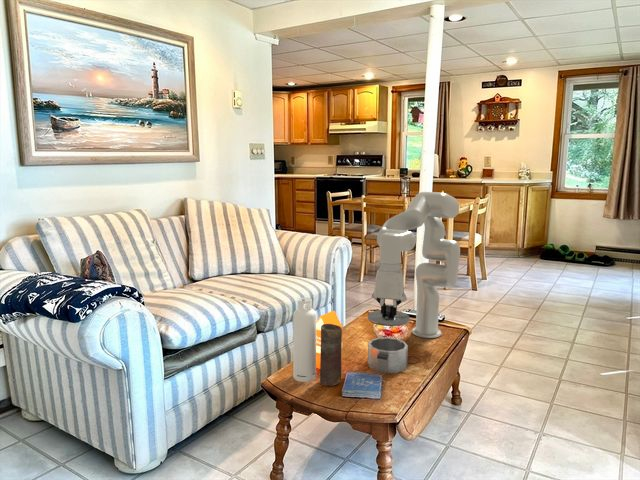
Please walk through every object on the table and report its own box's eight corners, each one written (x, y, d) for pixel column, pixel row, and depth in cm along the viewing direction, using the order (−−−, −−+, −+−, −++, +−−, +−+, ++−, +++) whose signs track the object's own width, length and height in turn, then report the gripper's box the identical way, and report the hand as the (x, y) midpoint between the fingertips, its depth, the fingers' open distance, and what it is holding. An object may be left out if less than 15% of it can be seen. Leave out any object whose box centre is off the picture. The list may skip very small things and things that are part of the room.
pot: (374, 353, 188) (375, 333, 186) (410, 358, 183) (411, 338, 181) (362, 372, 170) (362, 351, 169) (401, 378, 166) (402, 356, 164)
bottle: (309, 369, 172) (310, 295, 168) (320, 378, 165) (320, 301, 160) (289, 374, 168) (289, 298, 164) (299, 383, 161) (299, 304, 157)
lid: (372, 310, 183) (372, 298, 182) (411, 314, 179) (412, 301, 178) (363, 323, 169) (363, 309, 168) (406, 328, 164) (407, 314, 163)
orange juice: (311, 366, 175) (311, 314, 172) (325, 358, 182) (325, 308, 179) (328, 371, 171) (328, 318, 167) (342, 363, 177) (343, 312, 174)
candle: (328, 375, 167) (328, 321, 164) (345, 381, 163) (346, 325, 160) (315, 383, 161) (315, 327, 158) (333, 389, 157) (334, 331, 154)
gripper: (365, 267, 170) (364, 316, 173) (410, 271, 164) (409, 322, 167) (370, 263, 177) (369, 310, 180) (414, 266, 171) (412, 315, 174)
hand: (388, 315), depth 174 cm, fingers closed on lid, 2 cm apart
